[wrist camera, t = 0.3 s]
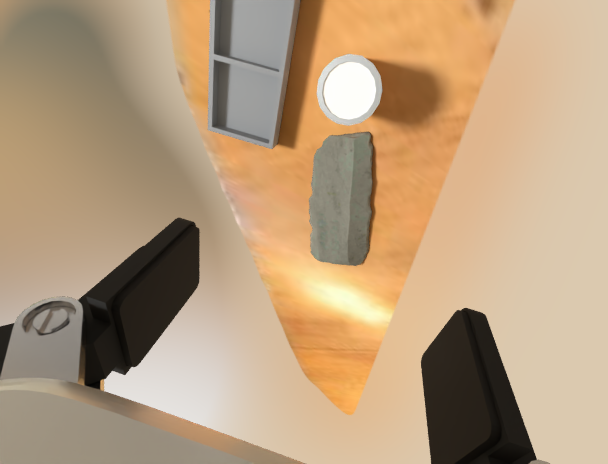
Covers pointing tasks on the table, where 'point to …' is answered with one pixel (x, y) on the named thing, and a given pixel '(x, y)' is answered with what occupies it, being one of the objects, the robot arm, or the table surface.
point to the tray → (250, 67)
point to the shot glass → (349, 89)
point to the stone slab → (341, 199)
